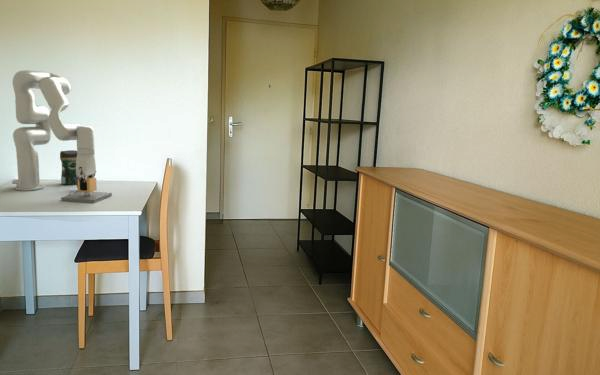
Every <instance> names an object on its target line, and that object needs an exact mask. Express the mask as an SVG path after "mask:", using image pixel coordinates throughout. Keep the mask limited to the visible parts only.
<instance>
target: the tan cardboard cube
mask: <svg viewBox="0 0 600 375" xmlns="http://www.w3.org/2000/svg"><path fill="white" fill-rule="evenodd" d="M83 179H84V178H83ZM86 182H87V190H86V191H85V190H80V182H79V179H78V188H77V192H96V191H97V190H98V188H97V185H98V184H97V177H95V178H89V177H86Z"/></svg>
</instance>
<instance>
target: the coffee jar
mask: <svg viewBox="0 0 600 375" xmlns="http://www.w3.org/2000/svg"><path fill="white" fill-rule="evenodd" d="M76 159H77V150H75V149H74V150H72V149H71V150H61V151H60V153H59V160H60V161H61V175H60V176H61V179H60V183H61V184H62V185H68V186H72V185H74V186H75V185H76V182H75V178H74V177H77V175H76Z"/></svg>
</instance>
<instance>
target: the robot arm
mask: <svg viewBox="0 0 600 375" xmlns="http://www.w3.org/2000/svg"><path fill="white" fill-rule="evenodd" d="M12 87H13V92H14V96H15V100H14V101H15V118H16V121H17V123H19V124H21V125H35V126H22V127H18V128H16V129H15V130H14V131H13V133H12V140H13V142H14V147H15V153H16V154H15V155H16V163H17V165H16V166H17V168H16V169H17V179H13V180H12V181H11V184H12V185H16V186H15V187H14V189H15V190H17V191H23V192H24V191H27V192H28V191H38V190H43V189H44V185H42V184H41V183H40V164H39V153H38V151H37V149H36V148H35V146H43V145H47V144H49V142H50V141H51V134H52V133H53V135H54V136H55V137H56V138H57V139H58V140H60V141H62V142H63V141H64V142H65V141H66V142H67V141H76V151H77V159H76V175H77V178H78V179H79V182H80V190H85V191H86V190H87V182H86V177H87V176H88V177H89V178H96V173H97V170H96V168H97V167H96V165H97V164H96V158H95V134H94V133H95V130H94V127H93V126H92V125H82V124H79V123H78V124H75V123H74V124H72V123H70V124H66V123H65V124H64V123H63V121H62V118H61V117H60V113H61V112H63V111H65V110H66V109H68V107H69V105H70V104H69V101H68V99H67V98H66V95H68V94H69V93H70V92H71V84H70V83H69V81H68V80H67V78H64V77H62V76H59V75H57V74H54V73H52V72H48V71H39V70H37V71H36V70H26V69H25V70H24V69H23V70H19V71H17V72H15V74H14V75H13V77H12ZM32 89H37V90H40V91H41V94H42V95H43V97H44V99H45V101H46V103H47V105H48V107H49V109H50V110H49V109H48V108H47V107H46V106H44V105H41V104H38V105H37V104H36V96H35V94H34V92H33V90H32ZM51 132H52V133H51ZM83 177H84V179H83Z"/></svg>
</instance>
